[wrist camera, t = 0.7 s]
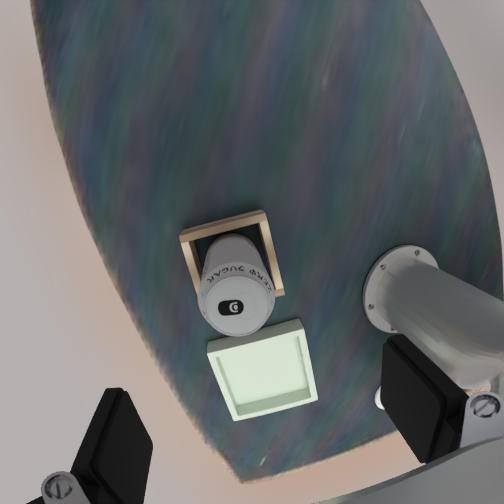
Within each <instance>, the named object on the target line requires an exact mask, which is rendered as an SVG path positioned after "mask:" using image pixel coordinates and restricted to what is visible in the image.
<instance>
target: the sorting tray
mask: <svg viewBox="0 0 504 504" xmlns="http://www.w3.org/2000/svg"><path fill="white" fill-rule="evenodd" d="M207 355H208V358H209V360H210V363H211V366H212V368H213V371H214V373H215V376H216V378H217V381H218V384H219V386H220V389H221V391H222V394H223V396H224V398H225V401H226V403H227V406H228V408H229V411H230V413H231V415H232V418H233V420H234V421H237V420H242V419H247V418H251V417H256V416H260V415H264V414H268V413H272V412H276V411H280V410H284V409H288V408H291V407H295V406H298V405H302V404H305V403H309V402H312V401H315V400H318V397H317V392H316V387H315V382H314V376H313V371H312V366H311V361H310V356H309V351H308V346H307V341H306V336H305V332H304V328H303V326H302V324H301V322H300V320H299V318H297V319H294V320H290V321H286V322H283V323H279V324H276V325H272V326H268V327H264V328H261V329H258V330H257V331H255V332H253V333H251V334H249V335H245V336H229V337H225V338H221V339H217V340H213V341H208V346H207Z"/></svg>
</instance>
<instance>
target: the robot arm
mask: <svg viewBox="0 0 504 504" xmlns="http://www.w3.org/2000/svg"><path fill="white" fill-rule="evenodd" d="M380 266H381V267H380ZM362 298H363V307H364V311H365V313H366V315H367V317H368V319H369V320H370V321H371V323H372V324H373V325H374V326H375V327H377V328H378V329H380V330H382V331H384V332H388V333H399V335H395V336H392V337H389V338H388V339H387V342H386V343H384V344H383V358H382V375H381V389H380V402H381V404H382V406H383V408H384V409H385V411H386V412H387V414H388V415H389V417H390V418H391V420H392V421H393V423H394V424H395V426H396V427H397V429H398V430H399V432H400V433H401V434H402V436H403V438H404V439H405V440H406V442H407V444H408V445H409V447H410V448H411V450H412V451H413V453H414V454H415V456H416V457H417V459H418V460H419V462H420V463H425V464H426V465H423V466H421V467H419V468H416V469H414V470H412V471H410V472H407V473H404V474H402V475H400V476H397V477H395V478H392V479H389V480H387V481H384V482H382V483H379V484H376V485H373V486H371V487H368V488H365V489H362V490H359V491H356V492H352V493H350V494H346V495H343V496H339V497H336V498H332V499H329V500H325V501H321V502H317V503H313V504H504V302H503V301H501V300H499V299H497V298H495V297H493V296H491V295H489V294H487V293H485V292H484V291H482V290H480V289H478V288H476V287H474V286H472V285H470V284H468V283H466V282H464V281H462V280H460V279H458V278H456V277H454V276H452V275H450V274H448V273H446V272H444V271H442V270H440V269H439V268H438V265H437V262H436V260H435V259H434V257H433V256H432V255H431V254H430V253H429V252H428V251H426V250H425V249H423V248H421V247H418V246H414V245H402V246H398V247H395V248H393V249H391V250H389V251H388V252H386V253H385V254H384V255H382V256H381V257H380V258H379V259H378V260H377V262H376V263H375V264H374V265H373V267H372V268H371V270H370V272H369V274H368V276H367V278H366V281H365V284H364V288H363V296H362ZM488 386H491V390H490V392H487V391H484V392H478V393H475V394H473V395H472V396H470V397H469V396H468V395H467V394H466V393H465V392H464V391H463V390H462V389H461V388H463V389H479V388H484V387H488ZM152 451H153V444H152V440H151V438H150V436H149V435H148V433H147V431H146V429H145V427H144V425H143V423H142V421H141V419H140V417H139V415H138V413H137V410H136V408H135V406H134V404H133V402H132V400H131V398H130V396H129V394H128V392H127V391H124V390H123V389H122V388H107V389H106V390H105V391H104V394H103V396H102V398H101V400H100V403H99V404H98V407H97V409H96V411H95V413H94V416H93V418H92V420H91V422H90V425H89V427H88V429H87V432H86V434H85V436H84V439H83V441H82V444H81V446H80V448H79V451H78V453H77V456H76V458H75V461H74V463H73V466H72V468H71V471H70V473H69V472H65V471H61V472H56V473H52V474H51V475H49V476H48V477H47V478H46V479H45V480H44V481H43V483H42V486H41V493H42V496H41V497H39V498H37V499H35V500H33V501H31V502H29V503H27V504H143V502H144V496H145V490H146V484H147V478H148V473H149V466H150V461H151V456H152Z"/></svg>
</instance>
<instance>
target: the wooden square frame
mask: <svg viewBox="0 0 504 504" xmlns="http://www.w3.org/2000/svg"><path fill="white" fill-rule="evenodd" d="M255 223H257V224H258V228H259V232H260V236H261V240H262V244H263V248H264V252H265V256H266V260H267V264H268V268H269V272H270V276H271V282H272V284H273V287H274V291H275V297H278V296H281V295H285V293H284V289H283V284H282V280H281V276H280V272H279V267H278V263H277V259H276V255H275V251H274V246H273V242H272V238H271V234H270V230H269V226H268V222H267V218H266V214H265V212H264V211H263V210H261V209H259V210H256V211H252V212H248V213H244V214H240V215H236V216H233V217H229V218H225V219H221V220H218V221H214V222H210V223H207V224H203V225H199V226H196V227H192V228H189V229H185V230H183V231H182V233H181V234H180V235H179V239H180V242H181V245H182V249H183V252H184V255H185V258H186V262H187V265H188V268H189V271H190V274H191V278H192V281H193V284H194V287H195V290H196V293H197V296H198V291H199V286H200V281H201V277H202V272H203V270H202V266H201V263H200V260H199V256H198V253H197V250H196V246H195V243H194V240H195V239H199V238H203V237H206V236H210V235H214V234H218V233H221V232H225V231H229V230H233V229H236V228H240V227H244V226H248V225H251V224H255Z"/></svg>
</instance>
